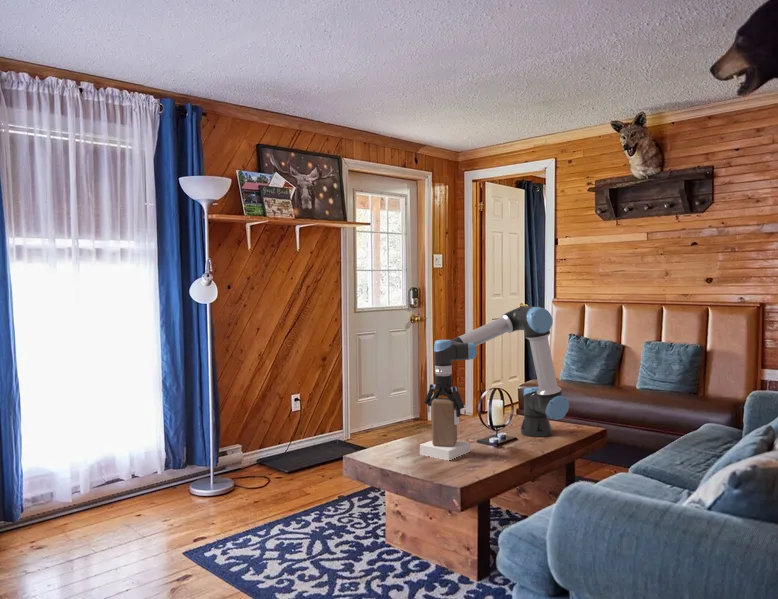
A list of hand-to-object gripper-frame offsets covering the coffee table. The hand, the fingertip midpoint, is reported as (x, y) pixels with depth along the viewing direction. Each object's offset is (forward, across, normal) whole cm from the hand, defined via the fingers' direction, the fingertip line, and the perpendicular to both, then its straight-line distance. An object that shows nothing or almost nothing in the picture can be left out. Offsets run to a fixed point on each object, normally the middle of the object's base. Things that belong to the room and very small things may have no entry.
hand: (444, 422), depth 273 cm
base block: (+15, 0, 0) cm, 15 cm away
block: (+10, 0, 0) cm, 10 cm away
